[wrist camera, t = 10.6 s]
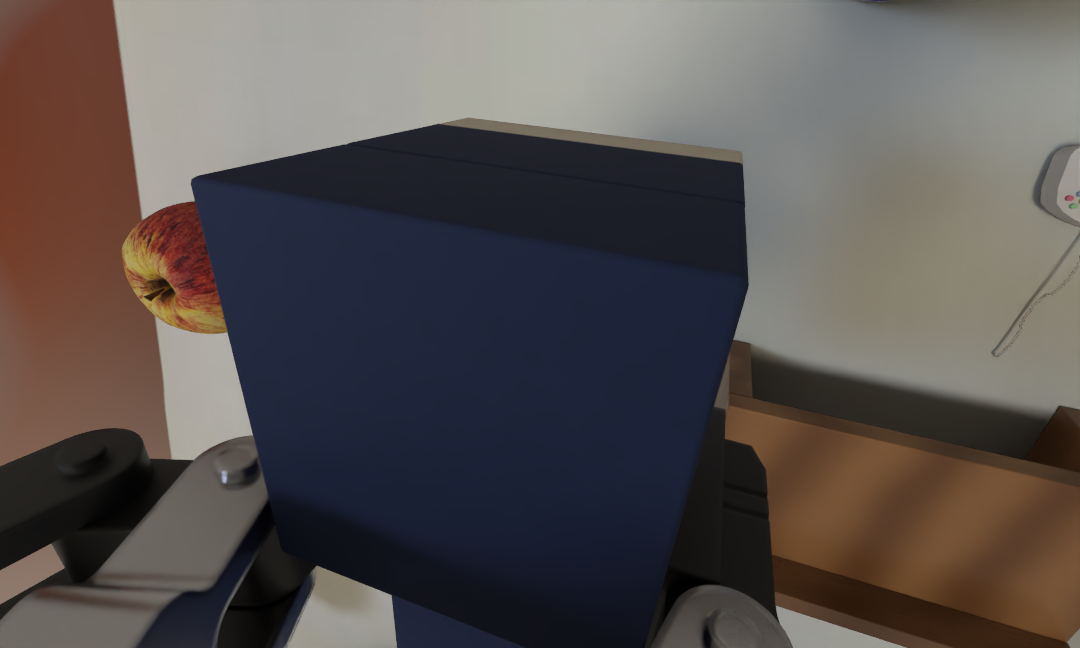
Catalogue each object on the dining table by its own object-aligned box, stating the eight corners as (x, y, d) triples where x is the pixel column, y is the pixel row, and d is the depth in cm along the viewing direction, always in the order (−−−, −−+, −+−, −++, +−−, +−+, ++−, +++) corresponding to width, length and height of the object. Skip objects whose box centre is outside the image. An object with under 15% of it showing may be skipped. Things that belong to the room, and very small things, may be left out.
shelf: (1086, 411, 27) (1236, 560, 19) (995, 541, 32) (1084, 705, 24) (729, 339, 32) (727, 434, 24) (696, 462, 36) (685, 577, 28)
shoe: (467, 117, 9) (185, 176, 4) (743, 151, 7) (752, 278, 3) (465, 530, 13) (331, 761, 9) (634, 589, 12) (576, 885, 8)
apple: (334, 249, 39) (222, 302, 30) (290, 319, 43) (182, 382, 35) (242, 161, 38) (100, 191, 29) (207, 242, 43) (76, 287, 34)
